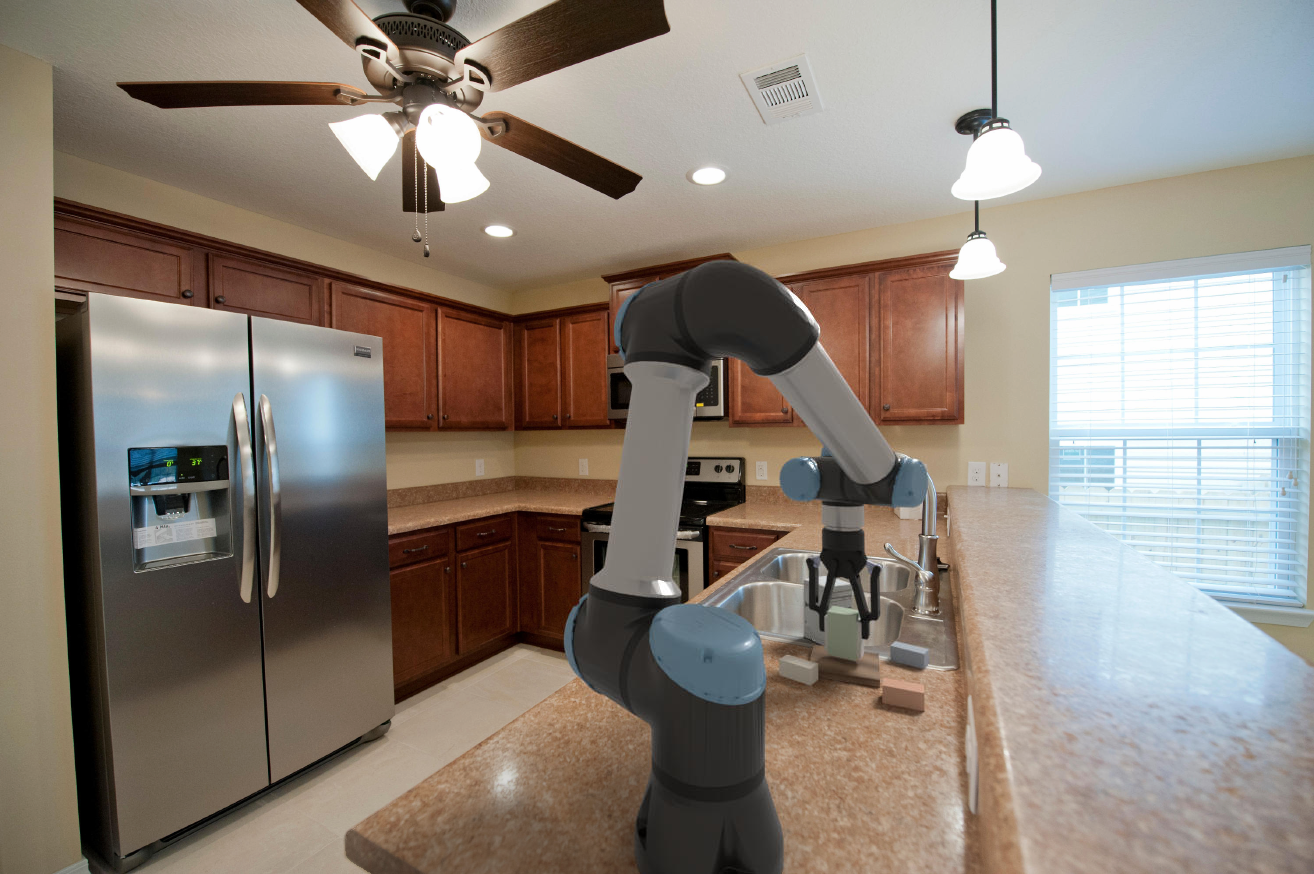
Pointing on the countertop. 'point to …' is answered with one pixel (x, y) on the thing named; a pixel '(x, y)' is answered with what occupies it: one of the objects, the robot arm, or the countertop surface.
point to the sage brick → (842, 632)
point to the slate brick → (909, 655)
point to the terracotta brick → (903, 694)
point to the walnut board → (847, 667)
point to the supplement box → (839, 598)
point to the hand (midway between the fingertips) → (844, 652)
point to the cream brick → (798, 669)
